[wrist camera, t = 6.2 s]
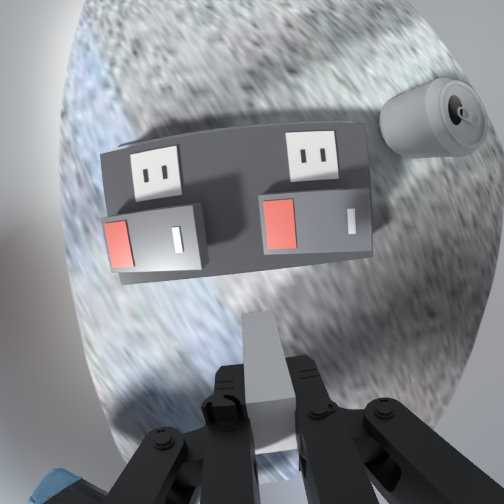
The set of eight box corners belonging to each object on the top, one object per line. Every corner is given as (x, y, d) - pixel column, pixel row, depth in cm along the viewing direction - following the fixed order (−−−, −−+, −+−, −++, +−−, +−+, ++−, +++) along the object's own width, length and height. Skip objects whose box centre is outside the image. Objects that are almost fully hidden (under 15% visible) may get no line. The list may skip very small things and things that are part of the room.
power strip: (359, 253, 32) (378, 267, 27) (135, 278, 32) (118, 295, 27) (349, 121, 29) (369, 112, 23) (115, 149, 29) (93, 145, 23)
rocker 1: (209, 261, 25) (201, 270, 23) (123, 265, 26) (110, 273, 24) (201, 202, 23) (191, 205, 21) (113, 214, 25) (99, 218, 23)
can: (379, 89, 28) (437, 58, 16) (429, 111, 28) (494, 96, 17) (371, 147, 29) (432, 136, 18) (422, 166, 30) (490, 168, 18)
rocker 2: (368, 244, 24) (371, 251, 22) (268, 248, 27) (263, 255, 25) (366, 187, 23) (369, 189, 21) (263, 193, 26) (257, 195, 24)
